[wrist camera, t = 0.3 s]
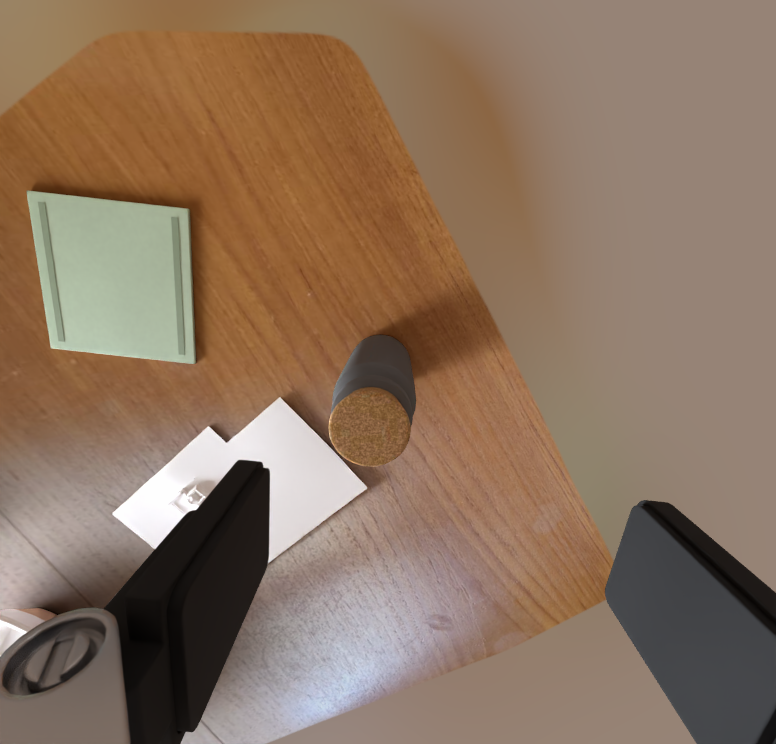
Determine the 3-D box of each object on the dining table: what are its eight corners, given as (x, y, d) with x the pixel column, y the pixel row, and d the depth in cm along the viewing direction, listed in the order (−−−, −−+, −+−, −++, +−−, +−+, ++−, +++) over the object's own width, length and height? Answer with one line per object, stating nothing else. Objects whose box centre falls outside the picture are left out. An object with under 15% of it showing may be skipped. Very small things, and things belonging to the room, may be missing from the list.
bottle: (357, 327, 34) (329, 370, 20) (417, 342, 34) (433, 396, 20) (344, 384, 36) (309, 463, 21) (402, 398, 36) (406, 485, 21)
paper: (226, 605, 43) (222, 613, 42) (108, 517, 40) (100, 523, 39) (373, 480, 38) (372, 486, 37) (250, 368, 35) (246, 372, 34)
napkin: (29, 191, 31) (25, 190, 31) (189, 209, 31) (187, 208, 31) (53, 347, 35) (50, 348, 35) (196, 363, 35) (194, 364, 35)
